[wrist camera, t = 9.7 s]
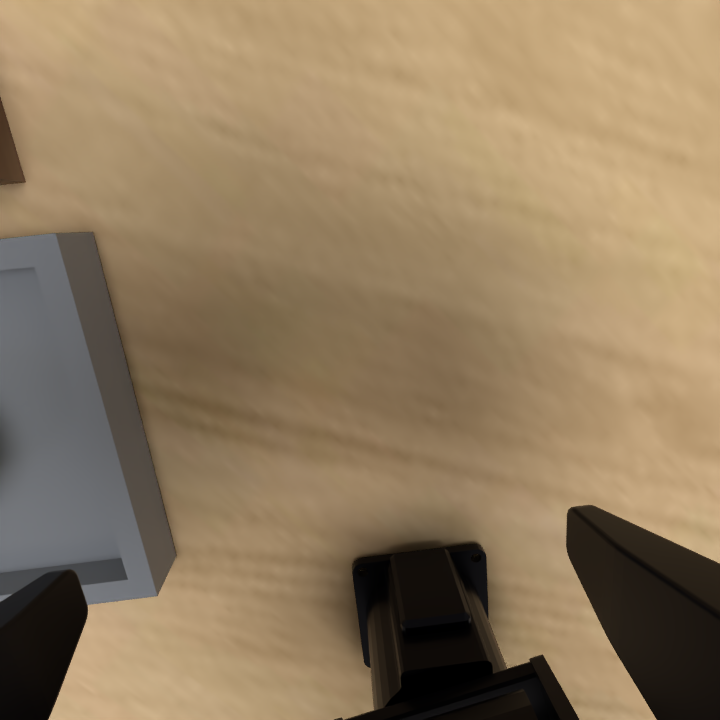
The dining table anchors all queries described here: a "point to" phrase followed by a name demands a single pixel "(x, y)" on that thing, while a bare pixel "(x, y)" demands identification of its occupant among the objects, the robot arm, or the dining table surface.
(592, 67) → the dining table surface
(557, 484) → the dining table surface
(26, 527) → the dish
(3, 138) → the walnut block
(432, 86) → the dining table surface
